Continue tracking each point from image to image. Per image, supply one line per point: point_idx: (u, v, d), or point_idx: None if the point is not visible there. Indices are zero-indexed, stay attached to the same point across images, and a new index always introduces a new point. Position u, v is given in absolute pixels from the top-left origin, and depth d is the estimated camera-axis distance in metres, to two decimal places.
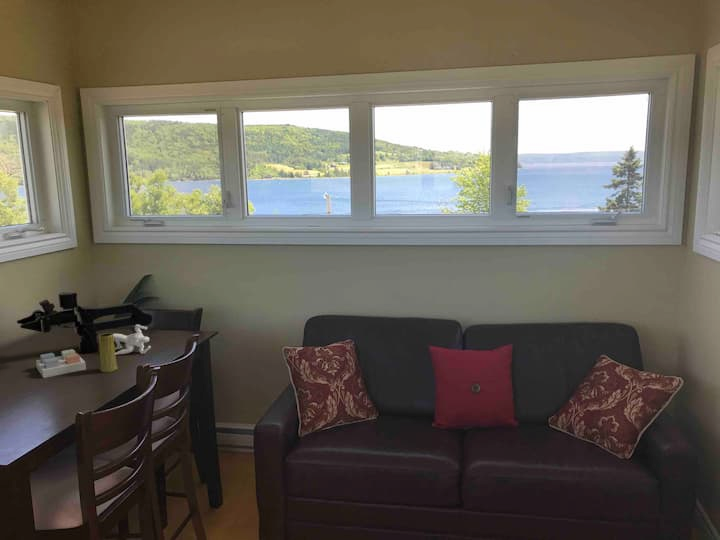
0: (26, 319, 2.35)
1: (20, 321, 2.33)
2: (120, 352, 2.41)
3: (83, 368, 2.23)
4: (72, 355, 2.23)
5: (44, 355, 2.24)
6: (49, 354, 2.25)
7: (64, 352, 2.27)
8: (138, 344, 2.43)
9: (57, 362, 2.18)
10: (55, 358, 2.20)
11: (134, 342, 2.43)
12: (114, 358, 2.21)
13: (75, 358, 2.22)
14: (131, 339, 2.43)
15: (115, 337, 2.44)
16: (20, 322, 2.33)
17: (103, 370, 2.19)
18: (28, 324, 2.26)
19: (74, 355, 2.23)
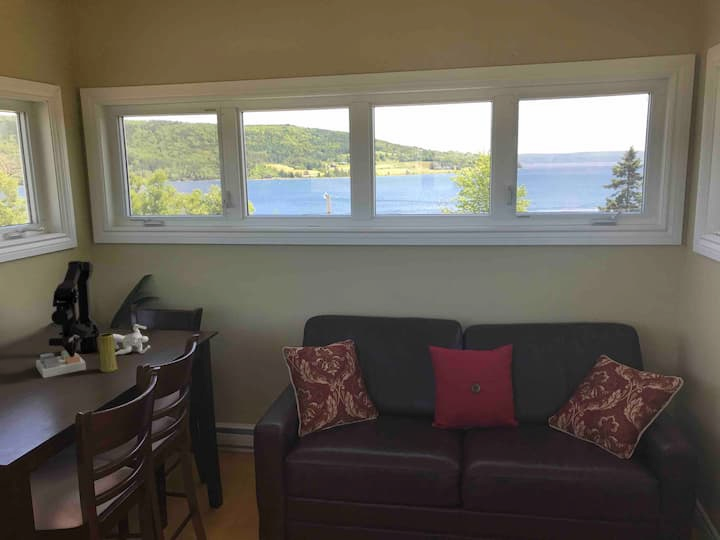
0: None
1: None
2: (119, 352, 2.40)
3: (83, 368, 2.23)
4: None
5: (44, 355, 2.24)
6: (49, 354, 2.25)
7: (64, 352, 2.27)
8: (137, 344, 2.43)
9: (57, 362, 2.18)
10: (55, 358, 2.20)
11: (133, 342, 2.43)
12: (114, 358, 2.21)
13: (75, 359, 2.22)
14: (129, 339, 2.43)
15: (113, 337, 2.43)
16: None
17: (103, 370, 2.19)
18: None
19: (74, 356, 2.23)
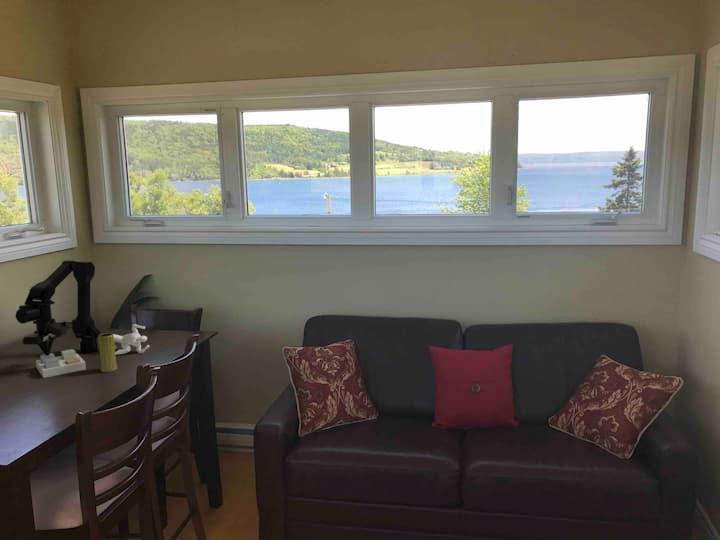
0: None
1: None
2: (117, 352, 2.40)
3: (83, 368, 2.23)
4: (72, 359, 2.23)
5: (44, 355, 2.24)
6: None
7: (64, 352, 2.27)
8: (135, 344, 2.43)
9: (57, 362, 2.18)
10: (55, 358, 2.20)
11: (131, 342, 2.43)
12: (114, 358, 2.21)
13: (75, 362, 2.22)
14: (128, 339, 2.43)
15: None
16: None
17: (103, 370, 2.19)
18: None
19: (74, 359, 2.23)
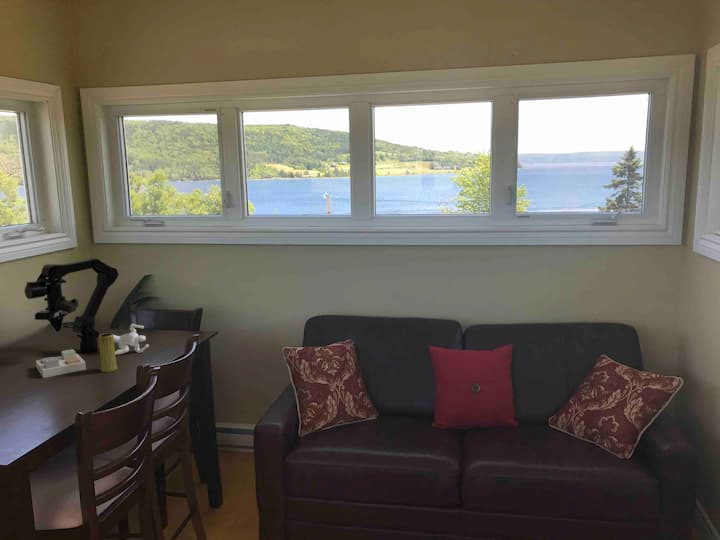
0: None
1: None
2: (116, 352, 2.40)
3: (83, 368, 2.23)
4: (72, 359, 2.23)
5: None
6: None
7: (64, 352, 2.27)
8: (134, 343, 2.44)
9: (57, 362, 2.18)
10: (55, 358, 2.20)
11: (130, 342, 2.43)
12: (114, 358, 2.21)
13: (75, 362, 2.22)
14: (126, 339, 2.43)
15: None
16: None
17: (103, 370, 2.19)
18: None
19: (74, 359, 2.23)
